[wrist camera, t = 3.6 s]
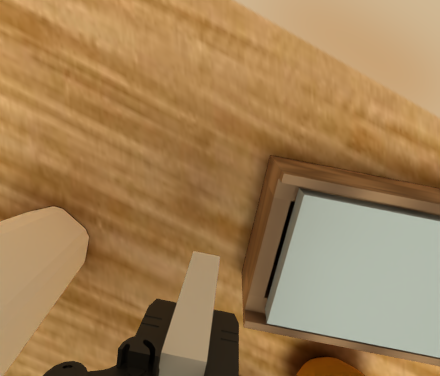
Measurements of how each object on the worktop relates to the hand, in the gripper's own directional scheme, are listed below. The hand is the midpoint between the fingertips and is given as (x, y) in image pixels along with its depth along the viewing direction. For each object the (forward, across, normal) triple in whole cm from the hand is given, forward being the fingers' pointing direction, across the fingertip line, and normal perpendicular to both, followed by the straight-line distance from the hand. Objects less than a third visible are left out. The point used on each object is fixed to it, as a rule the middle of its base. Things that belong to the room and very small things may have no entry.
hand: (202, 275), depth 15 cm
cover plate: (+5, +13, 0) cm, 14 cm away
